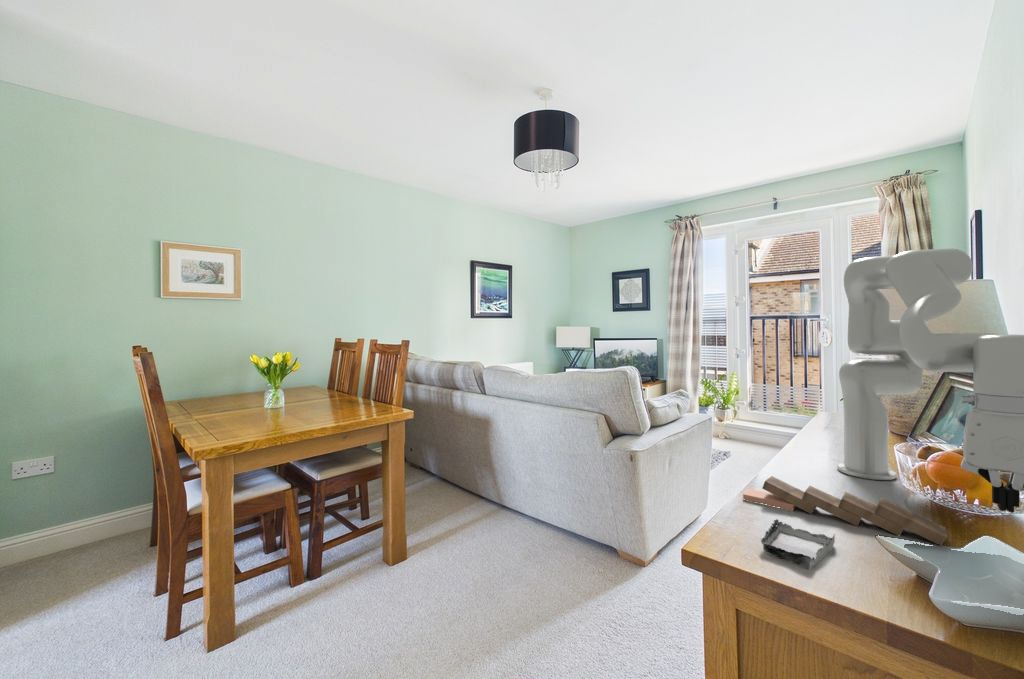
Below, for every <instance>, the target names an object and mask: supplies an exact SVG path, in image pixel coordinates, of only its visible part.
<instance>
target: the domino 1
mask: <svg viewBox="0 0 1024 679" xmlns="http://www.w3.org/2000/svg"><path fill="white" fill-rule="evenodd" d="M743 499H745V500H748V501H747V502H749V501H752V502H751V503H753V502H757V503H756V504H758V503H763V504H767V505H770V506H769V507H771V506H775V507H774V508H776V507H780V508H783V509H782V510H784V509H787V510H786V511H789V510H791V511H790V512H794V511H793V510H795V509H796V507H797V506H795V505H793V504H791V503H789V502H787V501H785V500H783V499H782V498H780V497H778V496H776V495H774V494H772V493H770V492H768V491H765V490H764V491H763V490H759V489H754V488H749V487H748V488H747V489H746V490H745V491H744V492H743V494H742V500H743ZM745 500H744V501H745ZM767 505H766V506H767ZM780 508H779V509H780Z"/></svg>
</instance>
